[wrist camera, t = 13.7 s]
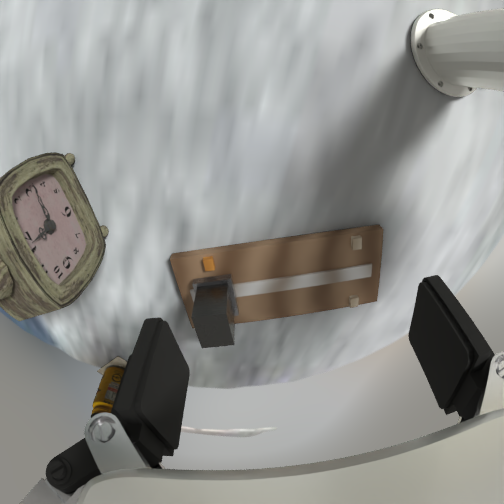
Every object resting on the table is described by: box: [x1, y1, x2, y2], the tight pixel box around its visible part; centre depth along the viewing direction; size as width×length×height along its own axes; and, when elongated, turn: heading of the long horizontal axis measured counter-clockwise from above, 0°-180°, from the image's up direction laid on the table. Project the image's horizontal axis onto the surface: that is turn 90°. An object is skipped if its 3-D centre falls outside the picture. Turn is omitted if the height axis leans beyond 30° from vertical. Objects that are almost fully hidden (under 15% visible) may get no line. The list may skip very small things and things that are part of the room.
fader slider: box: [191, 274, 239, 348], centre depth 38 cm, size 5×6×7 cm
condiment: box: [91, 356, 127, 418], centre depth 47 cm, size 7×8×12 cm
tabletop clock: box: [0, 153, 109, 321], centre depth 25 cm, size 14×9×25 cm, turn 18°
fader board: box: [170, 225, 383, 328], centre depth 41 cm, size 28×12×2 cm, turn 98°
